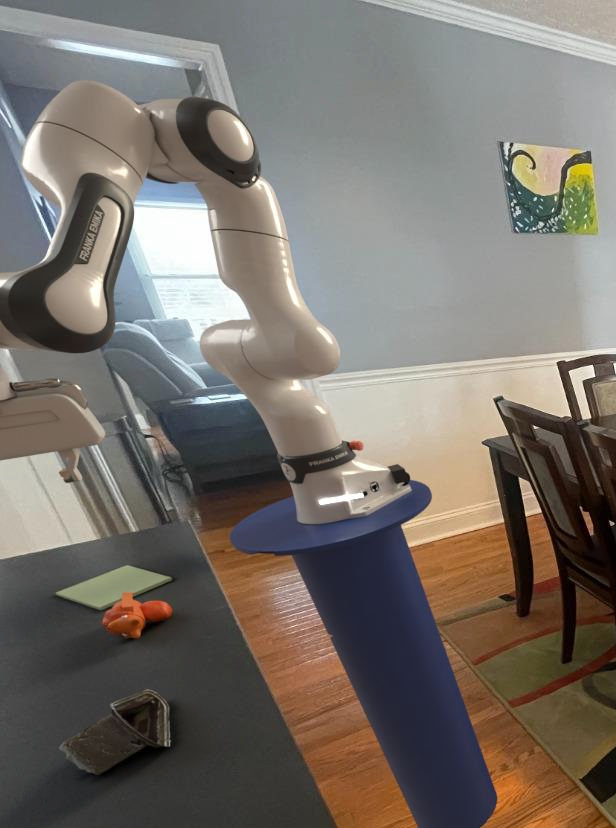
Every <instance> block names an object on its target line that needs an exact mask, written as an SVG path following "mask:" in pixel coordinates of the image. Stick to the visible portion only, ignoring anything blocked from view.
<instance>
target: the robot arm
mask: <svg viewBox="0 0 616 828" xmlns="http://www.w3.org/2000/svg"><path fill="white" fill-rule="evenodd" d="M20 168H21V170H22V172H23V174H24V176H25V177H26V180H27V181H28V182H29V184H31V186H32V187H33V188H34V190H36V191H37V192H38V193H39V194H40V195H41V196H42V197H43V198H45V199H46V200H47V201H48V202H50V203H52V204H53V205H55V206H56V207H58V208H59V209H60V216H59V218H58V222H57V224H56V227H55V230H54V232H53V234H52V239H51V240H50V242H49V243H50V244H49V245H48V248H47V252H46V254H45V255H44V257H43V259H42V260H41V261H39V262H38V263H36V264H35V265H33V266H31V267H28V268H26V269H23V270H19V271H9V272H0V349H3V350H12V351H13V350H14V351H50V352H56V353H57V352H58V353H65V354H85V353H86V354H87V353H91V352H94V351H96V350H99V349H100V348H103V347H104V346H105V345H106V344H108V342H109V341H110V340H111V339H112V337H113V335H114V333H115V329H116V323H117V321H116V311H115V309H116V308H115V300H114V299H115V288H116V287H115V286H116V283H117V280H118V276H119V273H120V271H121V270H120V269H121V266H122V264H123V260H124V257H125V253H126V251H127V247H128V244H129V241H130V238H131V233H132V230H133V227H134V220H135V207H134V206H135V204H136V201H137V198H138V196H139V193H140V191H141V189H142V187H143V185H144V182H145V180H146V179H148V180H150V181H154V182H157V183H162V184H167V185H177V184H194V186H195V187H196V189H197V190H198V191H199V193H200V195H201V196H202V198H203V200H204V202H205V204H206V208H207V218H208V225H209V226H208V227H209V231H210V236H211V242H212V247H213V251H214V256H215V262H216V268H217V272H218V276H219V278H220V280H221V282H222V283H223V284H224V285H225V286H226V287H227V288H228V289H230V290H231V291H233V292H235V293H236V294H237V296H238V297H239V298H240V300H241V301H242V303H243V305H244V307H245V308H246V310H247V313H248V315H249V318H250V319H249V318H247V319H230V320H225V321H222V322H219V323H216V324H214V325H210V326H209V327H207V328H205V329H204V331H203V332H202V333H201V335H200V337H199V350H200V353H201V355H202V357H203V359H204V361H205V362H206V363H207V364H208V365H209V367H211V368H212V369H213V370H214V371H216V372H218V373H219V374H221V375H222V376H224V377H225V378H227V379H228V380H230V381H231V382H232V383H233V384H234V386H236V387H237V388H238V390H239V391H240V392H241V393H242V394H243V395H244V396H245V398H246V399H247V400H248V401H249V402H250V403H251V405H252V406H253V408H254V409H255V410H256V412H257V413H258V414H259V416H260V417H261V419H262V421H263V423H264V425H265V427H266V429H267V431H268V433H269V435H270V438H271V440H272V442H273V445H274V447H275V449H276V451H277V454H276V458H277V460H278V462H279V465H280V467H281V470H282V472H283V474H284V476H285V478H286V480H287V481H288V482H289V484H290V487H291V491H292V496H294V499H295V504H296V512H297V521H298V522H300V523H303V524H324V523H331V522H336V521H341V520H345V519H351V518H360V517H365V516H367V515H369V514H371V513H373V512H375V511H376V510H378V509H380V508H382V507H384V506H385V505H387V504H389V503H391V502H392V501H394V500H396V499H398V498H400V497H401V496H403V495H405V494H407V493H408V492H410V491H411V490H412V489H411V487H410V485H408V483H409V481H410V480H411V475H410V474H409V473H408V472H407V471H406V469H405V468H404V467H403V466H402V465H400V464H398V463H396V464H393V465H388V466H387V465H385V464H383V463H379V462H376V461H373V460H371V459H368V458H365V457H362V456H360V455H357V454H356V452H355V451H363V450H364V447H365V446H364V443H363V442H362V441H361V440H351V441H347V440H342V438H341V435H340V432H339V429H338V427H337V425H336V422H335V420H334V417H333V414H332V412H331V409H330V407H329V405H327V403H326V402H325V401H323V400H322V399H321V398H319V397H317V396H315V395H314V394H313V393H312V392H310V391H309V390H308V389H307V388H306V386H305V385H304V384H303V383H302V381H310V380H313V379H317V378H321V377H324V376H327V375H331V374H332V373H334V372H335V371H337V369H338V367H339V365H340V361H341V348H340V344H339V342H338V340H337V338H336V336H335V335H334V334H333V333H332V332H331V330H329V328H327V327H325V326H324V325H323V324H322V323H320V321H319V320H317V318H316V317H315V316H314V315H313V314H312V311H311V310H310V309H309V307H308V306H307V303H306V301H305V300H304V298H303V295H302V293H301V291H300V288H299V284H298V281H297V277H296V272H295V268H294V263H293V257H292V251H291V246H290V241H289V236H288V231H287V226H286V221H285V218H284V216H283V212H282V208H281V206H280V202H279V199H278V197H277V195H276V192H275V190H274V188H273V186H272V185H271V184H270V183H269V182H268V180H266V179H265V178H264V177H263V176H261V173H262V163H261V160H260V154H259V149H258V145H257V142H256V140H255V138H254V135H253V133H252V132H251V130H250V128H249V127H248V125H247V124H246V122H245V120H243V118H242V117H241V116H240V115H239V114H238V113H237V112H236V111H235V110H234V109H233V108H231V107H230V106H229V105H227V104H225V103H223V102H221V101H218V100H215V99H212V98H207V97H200V96H189V97H185V98H163V99H156V100H153V101H151V102H146V103H142V104H137V103H136V102H135V101H134V100H132V98H130V97H129V96H127V95H126V94H124V93H122V92H121V91H119V90H117V89H115V88H114V87H111V86H110V85H107V84H105V83H101V82H98V81H95V80H87V79H80V80H75V81H73V82H71V83H69V84H67V86H66V87H64V88H63V89H61V90H60V92H58V93H57V94H56V95H55V96H54V97H53V98H52V100H51V101H49V102H48V104H46V106H45V108H44V109H43V110H42V111H41V113H39V116H38V118H37V119H36V120H35V122H34V124H33V126H32V127H31V128H30V130H29V133H28V135H27V136H26V138H25V141H24V144H23V148H22V151H21V157H20ZM63 384H64V385H63ZM88 405H89V401H88V399H87V396H86V395H85V393H84V391H83V390H82V388H80V387H79V386H78V385H77V384H76V383H73V382H71V381H67V380H62V379H60V378H59V377H58V378H57V377H54V378H53V377H51V378H45V379H42V380H26V381H16V382H13V381H12V380H11V379H10V377H9V375H8V374H7V372H6V370H5V368H4V367H3V365H2V364H1V363H0V461H5V460H6V461H7V460H11V459H19V458H25V457H31V456H38V455H44V454H49V453H56V452H58V454H59V456H60V457H61V459H67V463H66V464H67V465H66V467H64V468H61V470H59V471H58V474H59V476H60V477H61V478H63V479H62V480H63V482H64V483H65V484H71V483H77V482H81V481H82V480H83V476H82V474H81V472H80V470H79V469H78V464H79V459H80V455H81V452H80V450H79V449H82V448H87V447H88V448H89V447H93V446H98V445H100V444H101V443H102V442H103V440H104V439H105V437H106V431H105V429H104V428H103V426H102V425H101V423H100V422H99V420H98V418H96V416H95V414H93V412H92V410H90V408H88Z"/></svg>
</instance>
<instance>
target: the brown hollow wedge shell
mask: <svg viewBox="0 0 616 828" xmlns="http://www.w3.org/2000/svg"><path fill="white" fill-rule="evenodd" d="M109 707H110V708H111V709H110V712H109V713H110V714H108V715H106V716H105V717H103V718H101V719H99V720H98V721H96V722H95V723H93V724H91V725H89V726H88V727H86V728H85V729H83V730H82V731H80V732H78V733H76V734H74V735H73V736H71V737H69V738H67V739H66V740H64V741H63V742H62V743H61V744H60V746H59V748H58V749H59V751H61V752H64V753H65V754H66V757H65V759H66V760H68V761H69V762H71V763H72V764H73V765H74V766H76V767H77V768H78V769H79V770H84V771H86V772H87V773H89V774H90V773H92V774H94V775H96V776H99V775H102V774H103V773H105V772H107V771H109V770H110V769H112V768H113V767H114V766H116V765H117V764H120V763H121V762H124V761H125V760H126V759H128V758H129V757H131V756H133V755H135V754H136V753H138V752H139V751H141V750H142V749H144V748H146V747H148V746H150V747H153V748H157V749H159V748H163V747H171V743H172V740H171V739H170V738H171V732H170V730H171V729H170V728H171V726H170V724H171V722H170V706H169V704H168V702H167V701H166V699H164V698H163V697H162V696H161V695H160V694H158V692H156V691H154V690H152V689H149V688H146V689H144V690H142V691H141V692H136V693H135V694H132V695H130V696H126V697H122V698H120V699H119V700H116V701H114V702H110V704H109Z"/></svg>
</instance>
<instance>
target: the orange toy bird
mask: <svg viewBox="0 0 616 828" xmlns="http://www.w3.org/2000/svg"><path fill="white" fill-rule="evenodd" d="M172 613H173V609H172V607H171V605H170V604H169V603H167V602H166V601H162V600H149V601H145V602H143V603H141V602H140V601H138V600H135V599H134V597H132V592H129V593H122V601H119V602H117V603H116V604H115V605H113V606H112V607H111V608H110V609H108V610H106V612H105V613H104V616H103V619H102V622H101V624H102V626H103V627H104V628H105V630H106V631H107V632H108V633H110V634H111V635H117V636H123V639H139V638H140V637H141V634H142V631H143V630H144V629H145V627H146V621H149V622H154V623H156V622H163V621H166V620H167V619H169V618H170V617H171V615H172Z"/></svg>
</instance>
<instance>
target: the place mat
mask: <svg viewBox="0 0 616 828" xmlns="http://www.w3.org/2000/svg"><path fill="white" fill-rule="evenodd" d="M171 581H173V578H172V577H171V576H168V575H165V574H161V573H157V572H153V571H149V570H146V569H142V568H139V567H136V566H132V565H128V564H126V565H123V566H121V567H119V568H116V569H113V570H110V571H108V572H106V573H103V574H101V575H97V576H95V577H92V578H89V579H87V580H85V581H82V582H79V583H77V584H75V585H71V586H69V587H67V588H64V589H62V590H58V591H57V592H55V595H56V596H57V597H60V598H63V599H66V600H69V601H71V602H75V603H78V604H81V605H84V606H86V607H89V608H93V609H96V610H98V611H103V610H106V609H108V608H111V607H113V606H114V605H115V604H116V603H117V602H119V601H122V593H129V592H132V597H133V598H134V597H136V596H139V595H142V594H144V593H146V592H148V591H151V590H153V589H155V588H158V587H160V586H162V585H164V584H167V583H170V582H171Z"/></svg>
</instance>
